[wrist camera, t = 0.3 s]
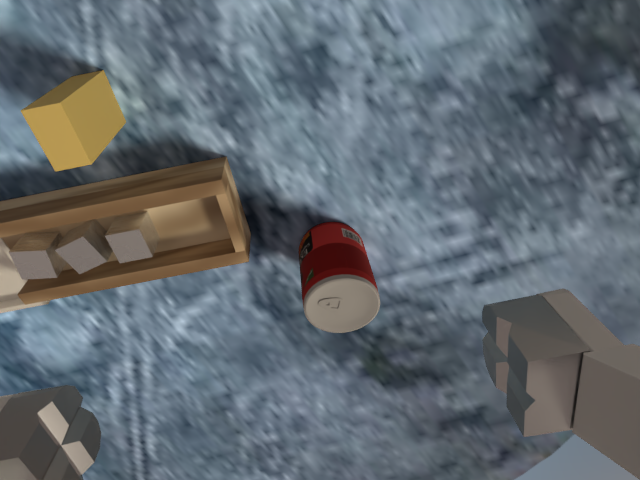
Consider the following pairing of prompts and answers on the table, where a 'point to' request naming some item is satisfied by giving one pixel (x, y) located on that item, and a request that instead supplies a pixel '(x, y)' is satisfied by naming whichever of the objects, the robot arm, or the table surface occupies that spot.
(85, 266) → the grey piece
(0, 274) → the tray
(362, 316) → the canned food
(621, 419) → the robot arm
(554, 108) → the table surface
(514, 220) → the table surface
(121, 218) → the grey cubic block
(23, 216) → the open wooden box
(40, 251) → the grey and brown cube
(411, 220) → the table surface
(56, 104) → the block
